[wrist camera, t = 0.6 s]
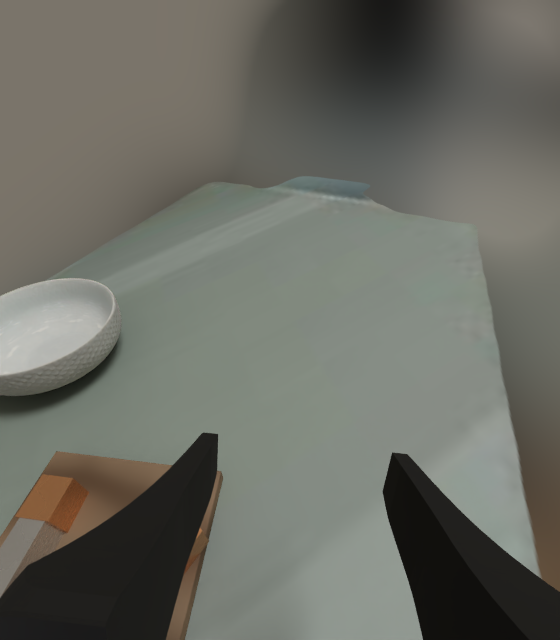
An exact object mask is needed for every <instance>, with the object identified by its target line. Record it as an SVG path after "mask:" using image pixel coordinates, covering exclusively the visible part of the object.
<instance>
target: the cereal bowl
mask: <svg viewBox="0 0 560 640" xmlns="http://www.w3.org/2000/svg"><path fill="white" fill-rule="evenodd" d="M120 331H121V314H120V310H119V306H118V304H117V301H116V299H115V296H114V295H113V293H112V292H111V290H110V289H109V288H107V287H106V286H104V285H103V284H101V283H98V282H95V281H92V280H87V279H78V278H66V279H55V280H49V281H43V282H39V283H35V284H31V285H28V286H25V287H22V288H19V289H16V290H13V291H11V292H9V293H6V294H4V295H2V296H0V395H5V396H25V395H33V394H39V393H43V392H46V391H50V390H53V389H56V388H60V387H62V386H64V385H67V384H69V383H72V382H73V381H75V380H77V379H79V378H81V377H82V376H84V375H85V374H87V373H88V372H90V371H92V370H93V369H94V368H95V367H96V366H98V365H99V364H100V363H101V362H102V361H103V360H104V359H105V358H106V357H107V356H108V355H109V353H110V352H111V350H112V349H113V347H114V346H115V344H116V342H117V340H118V337H119V335H120Z"/></svg>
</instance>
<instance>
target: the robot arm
mask: <svg viewBox="0 0 560 640" xmlns="http://www.w3.org/2000/svg"><path fill="white" fill-rule="evenodd" d="M217 454H218V434H212V433H202V434H201V435H200V436H199V437H198V439H197V440H196V441H195V442H194V443H193V444H192V445H191V447H190V448H189V449H188V450H187V451H186V452H185V453H184V454H183V455H182V456H181V457H180V458H179V459H178V460H177V461H176V463H175V464H174V465H173V466H172V467H171V468H170V469H169V470H168V471H167V472H165V473H164V474H163V475H162V476H161V477H160V478H159V479H158V480H157V481H156V482H155V483H154V484H153V485H151V486H150V487H149V488H148V489H147V490H146V491H144V492H143V493H142V494H141V495H140V496H138V497H137V498H136V499H135V500H133V501H132V502H131V503H130V504H128V505H127V506H126V507H124V508H123V509H121V510H120V511H119V512H117V513H116V514H115V515H113V516H112V517H110V518H109V519H107V520H106V521H105V522H103V523H102V524H100V525H98V526H97V527H95V528H94V529H92V530H90V531H89V532H87V533H86V534H84V535H82V536H81V537H79V538H77V539H76V540H74V541H72V542H71V543H69V544H67V545H65V546H64V547H62V548H60V549H58V550H56V551H54V552H52V553H50V554H48V555H47V556H45V557H43V558H41V559H39V560H37V561H35V562H33V563H31V564H29V565H27V567H26V568H25V569H24V570H23V571H22V572H21V573H20V574H19V576H18V577H17V578H16V579H15V580H14V581H13V582H12V584H11V585H10V586H9V587H8V589H7V590H6V591H5V592H4V594H3V595H2V596H1V598H0V640H166V637H167V633H168V630H169V626H170V622H171V618H172V615H173V611H174V607H175V604H176V600H177V596H178V593H179V589H180V586H181V582H182V578H183V575H184V571H185V568H186V565H187V562H188V559H189V556H190V553H191V551H192V548H193V545H194V543H195V540H196V537H197V534H198V532H199V529H200V526H201V524H202V521H203V518H204V515H205V513H206V510H207V507H208V505H209V502H210V499H211V495H212V491H213V488H214V483H215V479H216V475H217ZM383 495H384V501H385V506H386V511H387V515H388V519H389V523H390V526H391V529H392V532H393V535H394V538H395V541H396V544H397V547H398V550H399V554H400V557H401V560H402V563H403V566H404V569H405V572H406V575H407V578H408V581H409V584H410V588H411V591H412V595H413V598H414V602H415V607H416V611H417V615H418V619H419V623H420V628H421V632H422V636H423V640H560V592H559V591H557V590H555V589H554V588H553V587H552V586H550V585H548V584H547V583H546V582H545V581H543V580H542V579H541V578H539V577H538V576H536V575H535V574H534V573H532V572H531V571H530V570H529V569H527V568H526V567H525V566H523V565H522V564H521V563H519V562H518V561H517V560H516V559H514V558H513V557H512V556H511V555H509V554H508V553H507V552H506V551H504V550H503V549H502V548H501V547H500V546H498V545H497V544H496V543H495V542H494V541H493V540H491V539H490V538H489V537H488V536H487V535H486V534H485V533H483V532H482V531H481V530H480V529H479V528H478V527H477V526H476V525H475V524H473V523H472V522H471V521H470V520H469V519H468V518H467V517H466V516H465V515H464V514H463V513H462V512H461V511H460V510H459V509H458V508H457V507H456V506H455V505H454V504H453V503H452V502H451V501H450V500H449V499H448V498H447V497H446V496H445V495H444V494H443V493H442V492H441V491H440V489H439V488H438V487H437V486H436V485H435V484H434V483H433V482H432V481H431V480H430V479H429V478H428V476H427V475H426V474H425V473H424V472H423V471H422V470H421V469H420V468H419V466H418V465H417V464H416V463H415V462H414V461H413V460H412V459H411V458H410V457H409V456H408V454H400V453H392V456H391V460H390V464H389V468H388V472H387V476H386V480H385V484H384V488H383Z"/></svg>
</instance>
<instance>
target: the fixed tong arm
mask: <svg viewBox="0 0 560 640" xmlns="http://www.w3.org/2000/svg"><path fill="white" fill-rule="evenodd" d="M88 493H89V492H88V491H87V490H86V489H85V488H84V487H83V486H82V485H80V484H79V483H78V482H77V481H76V480H75V479H74V478H68V477H61V476H53V475H45V474H43V475H42V476H41V478H40V479H39V481H38V482H37V484H36V485H35V487H34V488H33V490H32V491H31V493H30V494H29V496H28V498H27V499H26V501H25V502H24V504H23V505H22V507H21V508H20V510H19V511H18V513H17V514H16V516H15V517H17V518H19V519H18V521H17V522H16V524H15V526H14V527H13V529H12V530H11V532H10V533H9V535H8V536H7V538H6V540H5V541H4V543H3V544H2V546H1V547H0V598H1V596H2V595H3V594H4V592H5V591H6V590H7V589H8V587H9V586H10V585H11V584H12V582H13V581H14V580H15V579H16V578H17V577H18V576H19V574H20V573H21V572H22V571H23V570H24V569H25V568H26V567H27V565H29V564H31V563H33V562H35V561H37V560H39V559H41V558H43V557H45V556H47V555H48V554H50V553H52V552H54V551H55V549H56V547H57V545H58V543H59V541H60V539H61V538H62V536H63V534H64V532H65V533H68V532H69V530H70V528H71V526H72V524H73V522H74V520H75V518H76V516H77V514H78V512H79V511H80V509H81V507H82V505H83V503H84V501H85V499H86V497H87V495H88Z"/></svg>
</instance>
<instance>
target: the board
mask: <svg viewBox="0 0 560 640" xmlns="http://www.w3.org/2000/svg"><path fill="white" fill-rule="evenodd" d="M171 467H172V465H164V464H156V463H148V462H140V461H132V460H123V459H115V458H107V457H99V456H91V455H82V454H74V453H66V452H58V451H56V453H55V454H54V456H53V457H52V459H51V460H50V462H49V463H48V465H47V467H46V468H45V470H44V471H43V473H42V474H41V476H42V475H43V474H45V475H53V476H61V477H68V478H74V479H75V480H76V481H77V482H78V483H79V484H80V485H82V486H83V487H84V488H85V489H86V490H87V491H88V492H89V493H88V495H87V497H86V499H85V501H84V503H83V505H82V507H81V509H80V511H79V512H78V514H77V516H76V518H75V520H74V522H73V524H72V526H71V528H70V530H69V532H68V533H65V532H64V534H63V536H62V538H61V539H60V541H59V543H58V545H57V547H56V549H55V551H56V550H58V549H60V548H62V547H64V546H65V545H67V544H69V543H71V542H72V541H74V540H76V539H77V538H79V537H81V536H82V535H84V534H86V533H87V532H89V531H90V530H92V529H94V528H95V527H97V526H98V525H100V524H102V523H103V522H105V521H106V520H107V519H109V518H110V517H112V516H113V515H115V514H116V513H117V512H119V511H120V510H121V509H123V508H124V507H126V506H127V505H128V504H130V503H131V502H132V501H133V500H135V499H136V498H137V497H138V496H140V495H141V494H142V493H143V492H144V491H146V490H147V489H148V488H149V487H150V486H151V485H153V484H154V483H155V482H156V481H157V480H158V479H159V478H160V477H161V476H162V475H163V474H164V473H165V472H167V471H168V470H169V469H170V468H171ZM41 476H40V477H39V479H40V478H41ZM39 479H38V480H37V482H38V481H39ZM222 480H223V476H222V473H221V471H217V475H216V479H215V483H214V488H213V491H212V495H211V499H210V502H209V505H208V507H207V510H206V513H205V515H204V518H203V521H202V524H201V526H200V528H201V529H202V530H203V532H204V534H205V535H206V537H207V539H209V535H210V531H211V527H212V522H213V518H214V514H215V510H216V506H217V501H218V497H219V493H220V489H221V485H222ZM37 482H36V483H35V485H36V484H37ZM35 485H34V486H33V488H34V487H35ZM33 488H32V489H31V491H32V490H33ZM31 491H30V492H29V494H30V493H31ZM29 494H28V496H29ZM28 496H27V497H26V499H27V498H28ZM26 499H25V500H24V502H25V501H26ZM24 502H23V503H22V505H23V504H24ZM22 505H21V506H20V508H21V507H22ZM20 508H19V509H18V511H19V510H20ZM18 511H17V512H16V514H17V513H18ZM16 514H15V515H14V517H13V518H12V520H11V521H10V523H9V525H8V526H7V528H6V529H5V531H4V532H3V534H2V535H1V537H0V547H1V546H2V544H3V543H4V541H5V540H6V538H7V536H8V535H9V533H10V532H11V530H12V529H13V527H14V526H15V524H16V522H17V521H18V519H19V518H17V517H15V516H16ZM206 548H207V545H206V546H205V547H204V549H203V550H202V551H201V553H200V554H199V555H198V557H197V558H196V559H195V561H194V562H193V563H192V565H191V566H190V567H189V569H188V570H187V571H186V572H185V574H184V575H183V578H182V582H181V586H180V589H179V593H178V596H177V600H176V604H175V607H174V611H173V615H172V618H171V622H170V626H169V630H168V633H167V637H166V640H185V636H186V632H187V627H188V623H189V619H190V615H191V611H192V606H193V602H194V598H195V594H196V590H197V585H198V581H199V577H200V573H201V569H202V564H203V560H204V556H205V552H206Z"/></svg>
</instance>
